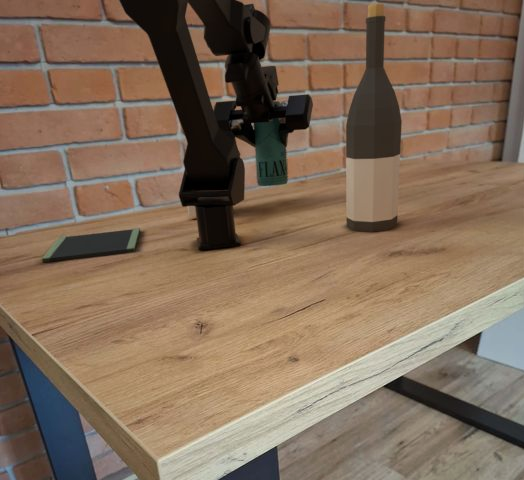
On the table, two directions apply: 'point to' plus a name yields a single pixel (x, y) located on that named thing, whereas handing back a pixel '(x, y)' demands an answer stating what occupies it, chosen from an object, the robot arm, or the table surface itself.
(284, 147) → the beverage bottle
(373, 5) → the wine bottle
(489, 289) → the table surface
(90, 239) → the dark square mat
